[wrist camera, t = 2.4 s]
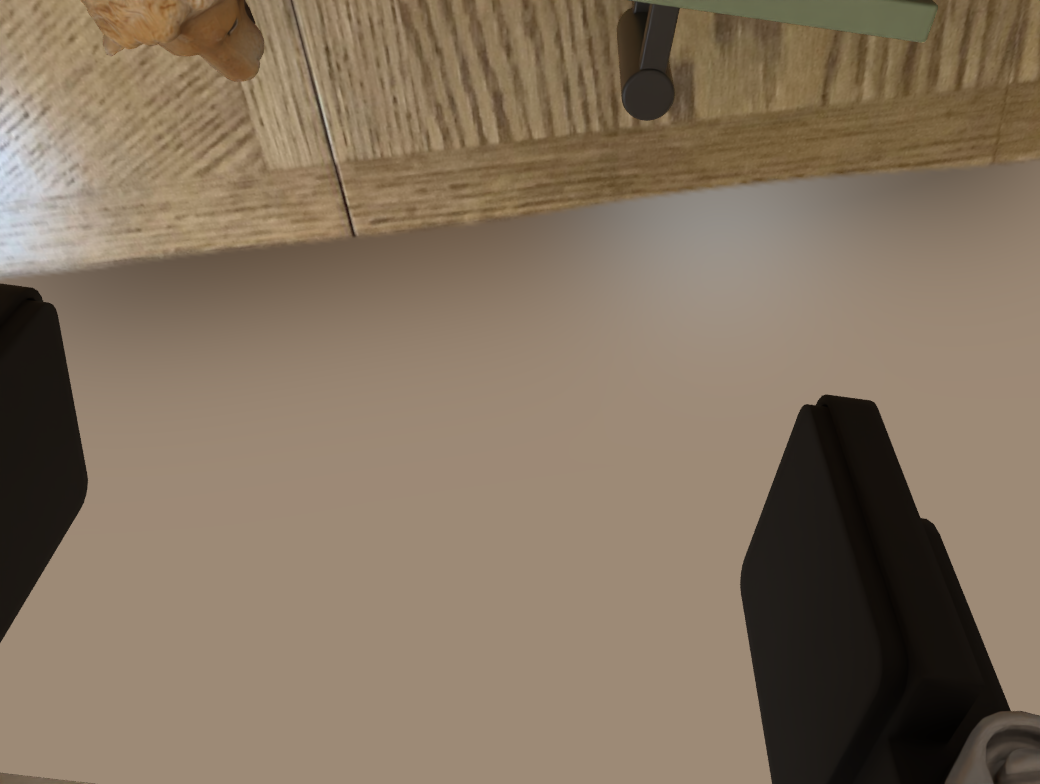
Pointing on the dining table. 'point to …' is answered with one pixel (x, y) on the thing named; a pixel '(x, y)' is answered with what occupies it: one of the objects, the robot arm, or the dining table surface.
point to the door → (816, 3)
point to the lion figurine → (185, 30)
